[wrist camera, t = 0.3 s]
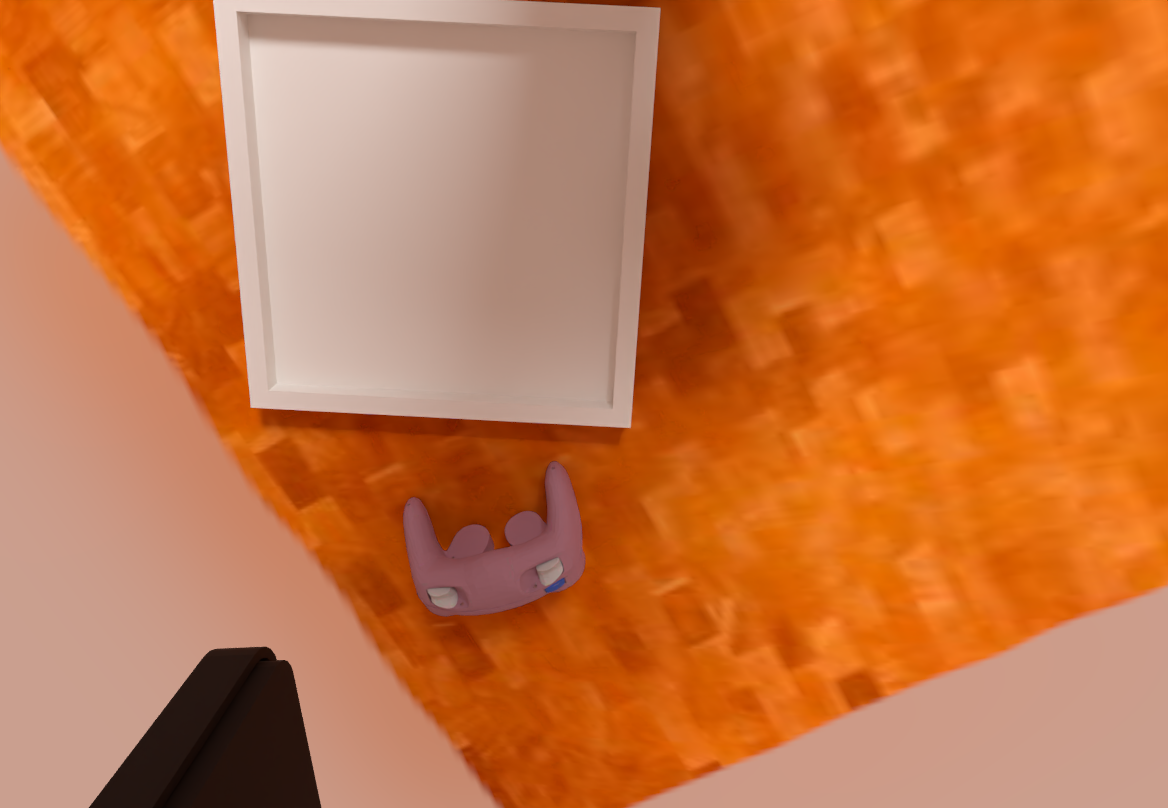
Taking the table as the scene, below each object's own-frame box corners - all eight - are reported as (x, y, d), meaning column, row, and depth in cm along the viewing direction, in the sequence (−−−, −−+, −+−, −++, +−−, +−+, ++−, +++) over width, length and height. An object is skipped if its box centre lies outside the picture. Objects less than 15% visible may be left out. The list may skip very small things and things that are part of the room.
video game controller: (428, 537, 50) (424, 643, 45) (396, 493, 47) (389, 601, 42) (585, 498, 49) (599, 602, 44) (564, 450, 46) (576, 555, 41)
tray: (231, -9, 39) (211, -15, 37) (657, 12, 39) (660, 7, 37) (265, 395, 45) (250, 407, 43) (629, 414, 45) (630, 428, 43)
